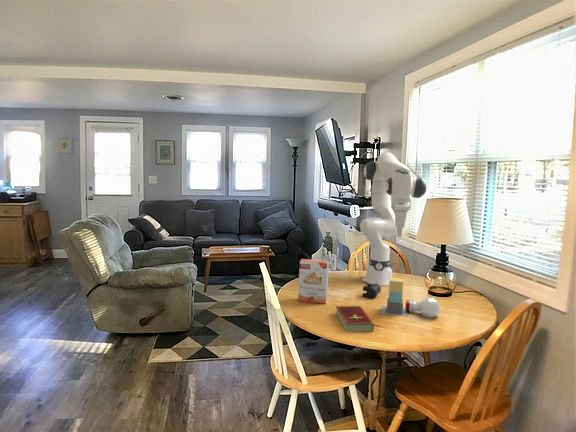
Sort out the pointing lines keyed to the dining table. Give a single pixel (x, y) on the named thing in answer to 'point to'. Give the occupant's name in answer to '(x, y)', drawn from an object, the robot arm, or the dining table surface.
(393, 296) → the teal brick
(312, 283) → the cracker box
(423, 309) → the potion bottle
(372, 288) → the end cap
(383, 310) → the build plate
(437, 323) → the dining table surface
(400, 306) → the base brick
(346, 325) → the hardcover book
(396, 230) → the robot arm
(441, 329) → the dining table surface
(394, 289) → the ochre brick
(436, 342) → the dining table surface
